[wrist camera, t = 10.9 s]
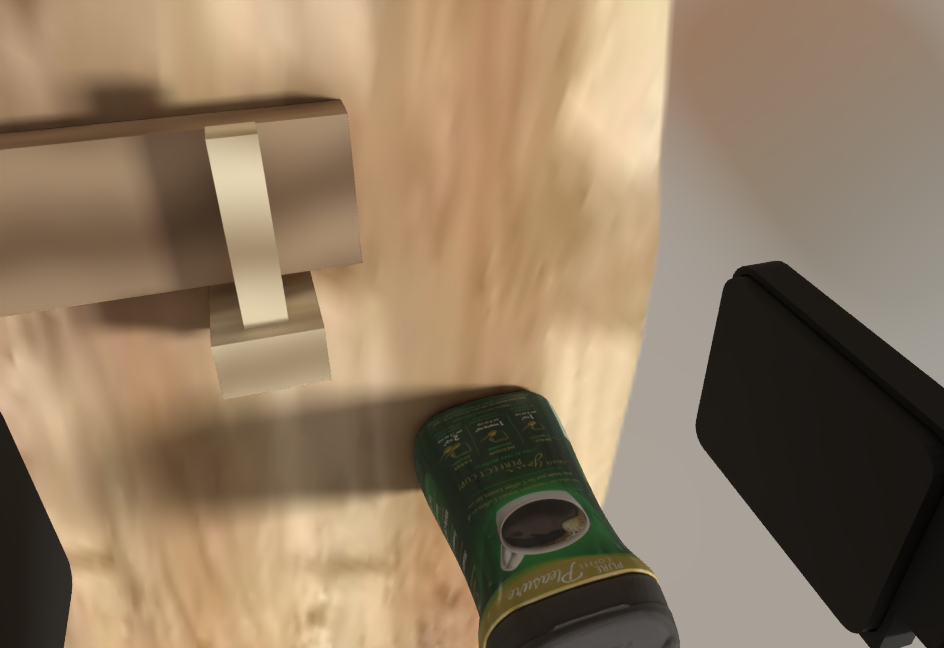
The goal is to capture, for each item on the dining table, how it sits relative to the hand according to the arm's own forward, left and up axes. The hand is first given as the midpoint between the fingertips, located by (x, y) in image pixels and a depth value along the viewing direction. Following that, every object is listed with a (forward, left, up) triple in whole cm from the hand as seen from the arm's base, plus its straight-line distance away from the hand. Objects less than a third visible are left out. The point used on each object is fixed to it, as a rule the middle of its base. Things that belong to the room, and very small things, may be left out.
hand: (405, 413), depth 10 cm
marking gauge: (+11, -2, -28) cm, 30 cm away
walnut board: (+9, -11, -28) cm, 32 cm away
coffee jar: (+28, +10, -28) cm, 41 cm away
